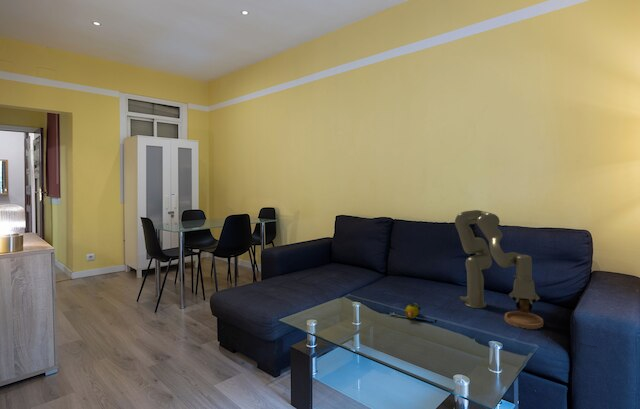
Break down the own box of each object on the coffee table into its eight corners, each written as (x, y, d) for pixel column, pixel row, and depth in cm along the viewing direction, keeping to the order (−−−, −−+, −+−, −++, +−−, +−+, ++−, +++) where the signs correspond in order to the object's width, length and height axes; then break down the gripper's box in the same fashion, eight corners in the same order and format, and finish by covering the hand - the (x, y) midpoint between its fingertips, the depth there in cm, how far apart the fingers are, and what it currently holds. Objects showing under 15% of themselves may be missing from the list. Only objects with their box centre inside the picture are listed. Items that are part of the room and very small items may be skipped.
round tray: (503, 325, 187) (503, 321, 187) (504, 312, 204) (504, 309, 203) (544, 331, 178) (544, 327, 178) (542, 318, 194) (542, 314, 194)
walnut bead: (518, 311, 189) (518, 298, 189) (518, 308, 193) (518, 295, 193) (529, 313, 187) (529, 300, 186) (529, 310, 191) (529, 297, 190)
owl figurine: (385, 304, 203) (392, 296, 216) (385, 318, 203) (392, 310, 217) (434, 311, 189) (438, 302, 203) (434, 327, 190) (439, 317, 203)
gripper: (506, 277, 190) (506, 309, 191) (542, 281, 181) (542, 314, 182) (506, 274, 196) (506, 305, 197) (541, 277, 188) (541, 309, 189)
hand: (524, 309), depth 190 cm, fingers closed on walnut bead, 5 cm apart
